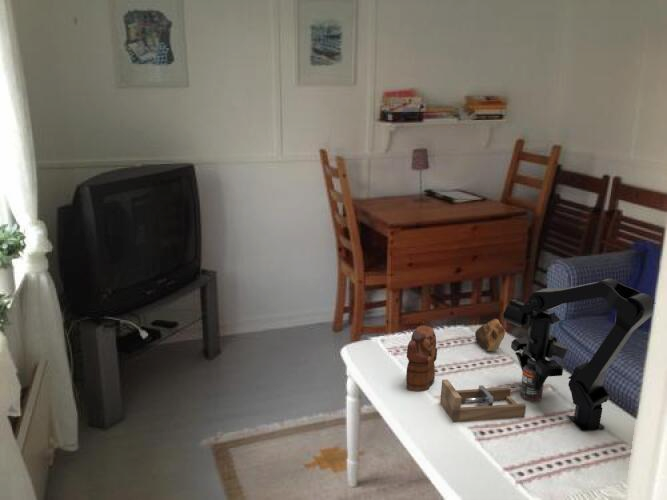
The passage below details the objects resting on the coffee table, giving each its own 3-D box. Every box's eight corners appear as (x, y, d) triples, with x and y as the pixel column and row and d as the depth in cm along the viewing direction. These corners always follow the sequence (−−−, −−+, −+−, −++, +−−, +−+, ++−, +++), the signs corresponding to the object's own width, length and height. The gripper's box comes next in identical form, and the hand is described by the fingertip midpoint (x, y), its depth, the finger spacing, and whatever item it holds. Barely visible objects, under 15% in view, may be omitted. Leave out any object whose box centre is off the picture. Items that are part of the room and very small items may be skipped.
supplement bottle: (538, 392, 172) (543, 356, 169) (543, 403, 166) (549, 366, 163) (517, 391, 172) (522, 355, 169) (521, 401, 167) (526, 364, 164)
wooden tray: (524, 417, 159) (527, 393, 157) (453, 422, 155) (455, 398, 153) (507, 398, 168) (510, 376, 166) (440, 402, 165) (442, 379, 163)
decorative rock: (504, 354, 196) (508, 324, 193) (487, 356, 195) (491, 325, 192) (487, 339, 207) (490, 310, 205) (471, 341, 206) (474, 311, 203)
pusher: (491, 414, 158) (493, 397, 157) (469, 416, 157) (471, 399, 156) (481, 401, 165) (482, 385, 164) (459, 402, 164) (461, 386, 163)
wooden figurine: (422, 395, 168) (427, 336, 163) (402, 389, 171) (406, 331, 167) (438, 379, 178) (443, 323, 173) (418, 373, 181) (423, 318, 176)
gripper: (585, 346, 157) (576, 399, 161) (548, 319, 174) (541, 367, 179) (546, 348, 155) (538, 401, 159) (513, 320, 172) (507, 369, 177)
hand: (532, 384), depth 168 cm, fingers closed on supplement bottle, 6 cm apart
